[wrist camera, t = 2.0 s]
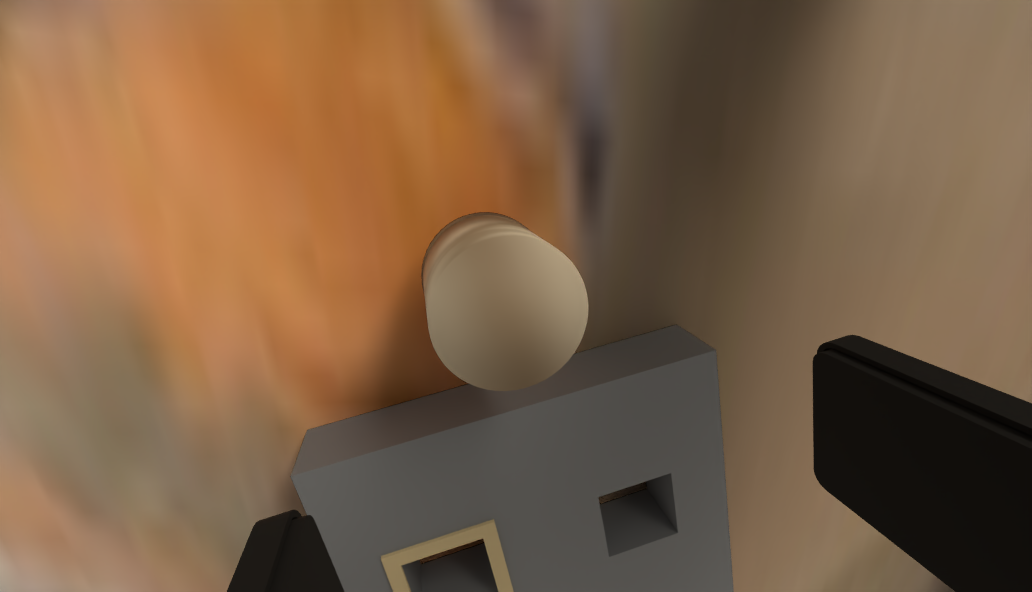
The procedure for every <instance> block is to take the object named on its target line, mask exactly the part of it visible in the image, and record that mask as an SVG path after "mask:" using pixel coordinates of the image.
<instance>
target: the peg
mask: <svg viewBox="0 0 1032 592" xmlns="http://www.w3.org/2000/svg"><path fill="white" fill-rule="evenodd" d="M421 275H422V286H423V291H424V295H425V303H426V312H427V321H428V329H429V334H430V339H431V342H432V344H433V347H434V349H435V351H436V353H437V355H438V357H439V358H440V360H441V361H442V362H443V364H444V365H445V366H446V367H447V368H448V369H449V370H450V371H451V372H452V373H453V374H454V375H456V376H457V377H458V378H460V379H461V380H463V381H465V382H467V383H469V384H471V385H473V386H476V387H479V388H483V389H486V390H493V391H512V390H519V389H523V388H527V387H530V386H533V385H535V384H538V383H540V382H542V381H544V380H546V379H547V378H549V377H550V376H552V375H553V374H555V373H556V372H557V371H558V370H560V369H561V368H562V367H563V366H564V365H565V364H566V363H567V362H568V361H569V359H570V358H571V357H572V355H573V354H574V353H575V351H576V349H577V348H578V346H579V344H580V342H581V340H582V338H583V335H584V332H585V329H586V325H587V319H588V296H587V292H586V288H585V285H584V282H583V279H582V277H581V275H580V273H579V272H578V270H577V268H576V267H575V266H574V264H573V263H572V262H571V260H570V259H569V258H568V257H567V256H566V255H565V254H563V253H562V252H561V251H559V250H558V249H557V248H555V247H554V246H552V245H551V244H549V243H548V242H546V241H545V240H543V239H542V238H540V237H539V236H537V235H536V234H534V233H533V232H531V231H529V230H528V229H527V228H526V227H525V226H524V225H522V224H521V223H519V222H518V221H516V220H514V219H512V218H510V217H508V216H505V215H502V214H497V213H490V212H479V213H473V214H469V215H465V216H462V217H460V218H458V219H456V220H454V221H452V222H451V223H449V224H448V225H446V226H445V227H444V228H443V229H441V230H440V232H439V233H438V234H437V235H436V236H435V237H434V239H433V240H432V241H431V243H430V245H429V247H428V249H427V251H426V253H425V256H424V260H423V264H422V274H421Z"/></svg>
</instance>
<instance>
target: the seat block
mask: <svg viewBox="0 0 1032 592" xmlns="http://www.w3.org/2000/svg"><path fill="white" fill-rule="evenodd" d="M290 477H291V479H292V481H293V484H294V486H295V488H296V490H297V493H298V495H299V497H300V500H301V502H302V504H303V507H304V509H305V511H306V514H307V515H311V516H312V517H313V518H314V520H315V522H316V525H317V527H318V529H319V532H320V534H321V537H322V539H323V541H324V544H325V546H326V549H327V551H328V553H329V556H330V558H331V560H332V563H333V565H334V568H335V570H336V572H337V575H338V577H339V580H340V582H341V584H342V587H343V589H344V591H345V592H734V591H733V577H732V563H731V549H730V535H729V521H728V508H727V494H726V480H725V466H724V452H723V438H722V425H721V411H720V397H719V383H718V369H717V355H716V350H715V349H714V348H712V347H711V346H709V345H708V344H706V343H704V342H703V341H701V340H700V339H698V338H697V337H695V336H694V335H692V334H690V333H689V332H687V331H686V330H684V329H683V328H681V327H680V326H678V325H674V326H670V327H667V328H663V329H660V330H656V331H653V332H649V333H646V334H642V335H639V336H635V337H632V338H628V339H625V340H621V341H618V342H614V343H611V344H607V345H604V346H600V347H596V348H593V349H589V350H586V351H582V352H579V353H575V354H573V355H572V357H571V358H570V359H569V361H568V362H567V363H566V364H565V365H564V366H563V367H562V368H561V369H560V370H558V371H557V372H556V373H555V374H553V375H552V376H550V377H549V378H547V379H546V380H544V381H542V382H540V383H538V384H535V385H533V386H530V387H527V388H523V389H519V390H512V391H493V390H486V389H483V388H479V387H476V386H473V385H471V384H467V385H463V386H460V387H456V388H453V389H449V390H446V391H442V392H439V393H435V394H432V395H428V396H425V397H421V398H418V399H414V400H411V401H407V402H404V403H400V404H397V405H393V406H390V407H386V408H383V409H379V410H376V411H372V412H369V413H365V414H362V415H358V416H355V417H351V418H348V419H344V420H341V421H337V422H334V423H330V424H327V425H323V426H320V427H316V428H313V429H309V430H307V432H306V435H305V438H304V440H303V443H302V446H301V449H300V452H299V454H298V457H297V460H296V463H295V465H294V468H293V471H292V474H291V476H290ZM642 482H646V485H647V489H645V490H642V491H639V492H636V493H633V494H630V495H627V496H624V497H621V498H618V499H615V500H612V501H609V502H606V503H603V504H599V498H598V497H600V496H603V495H606V494H609V493H612V492H615V491H618V490H621V489H624V488H627V487H630V486H633V485H636V484H639V483H642ZM480 539H483V540H484V543H483V544H480V545H477V546H474V547H471V548H468V549H465V550H462V551H459V552H456V553H453V554H450V555H447V556H444V557H441V558H438V559H435V560H432V561H429V562H426V563H423V564H421V563H420V560H419V559H422V558H425V557H428V556H431V555H434V554H437V553H440V552H443V551H446V550H449V549H452V548H455V547H458V546H462V545H465V544H468V543H471V542H474V541H477V540H480Z"/></svg>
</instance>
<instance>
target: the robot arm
mask: <svg viewBox="0 0 1032 592" xmlns="http://www.w3.org/2000/svg"><path fill="white" fill-rule="evenodd" d="M813 442H814V473H815V476H816V478H817V480H818V481H819V483H820V484H821V485H822V487H823V488H824V489H825V490H827V491H828V492H829V493H830V494H832V495H833V496H834V497H835V498H837V499H838V500H839V501H841V502H842V503H843V504H844V505H846V506H847V507H848V508H850V509H851V510H852V511H853V512H855V513H856V514H857V515H858V516H860V517H861V518H862V519H864V520H865V521H866V522H867V523H869V524H870V525H871V526H872V527H874V528H875V529H876V530H878V531H879V532H880V533H881V534H883V535H884V536H885V537H886V538H888V539H889V540H890V541H892V542H893V543H894V544H895V545H897V546H898V547H899V548H901V549H902V550H903V551H904V552H906V553H907V554H908V555H909V556H911V557H912V558H913V559H915V560H916V561H917V562H918V563H920V564H921V565H922V566H923V567H925V568H926V569H927V570H929V571H930V572H931V573H932V574H934V575H935V576H936V577H937V578H939V579H940V580H941V581H943V582H944V583H945V584H946V585H948V586H949V587H950V588H952V589H953V590H954V591H955V592H1032V403H1029V402H1027V401H1024V400H1021V399H1019V398H1016V397H1014V396H1011V395H1009V394H1006V393H1003V392H1001V391H998V390H996V389H993V388H991V387H988V386H986V385H983V384H980V383H978V382H975V381H973V380H970V379H968V378H965V377H962V376H960V375H957V374H955V373H952V372H950V371H947V370H944V369H942V368H939V367H937V366H934V365H932V364H929V363H927V362H924V361H921V360H919V359H916V358H914V357H911V356H909V355H906V354H903V353H901V352H898V351H896V350H893V349H891V348H888V347H886V346H883V345H880V344H878V343H875V342H873V341H870V340H868V339H865V338H862V337H860V336H856V335H848V336H845V337H842V338H838V339H835V340H832V341H829V342H826V343H823V344H822V345H820V347H819V348H818V350H817V354H816V355H815V356H814V358H813ZM227 592H345V591H344V589H343V587H342V584H341V582H340V580H339V577H338V575H337V572H336V570H335V568H334V565H333V563H332V560H331V558H330V556H329V553H328V551H327V549H326V546H325V544H324V541H323V539H322V537H321V534H320V532H319V529H318V527H317V525H316V522H315V520H314V518H313V517H312V516H311V515H306V516H303V517H302V516H301V514H300V513H299V512H298V511H297V510H291V511H288V512H285V513H282V514H279V515H275V516H272V517H269V518H266V519H263V520H259V521H258V522H256V523H255V525H254V527H253V529H252V531H251V534H250V536H249V538H248V541H247V543H246V546H245V548H244V551H243V553H242V556H241V558H240V561H239V563H238V565H237V568H236V570H235V573H234V575H233V578H232V580H231V583H230V585H229V588H228V590H227Z"/></svg>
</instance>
